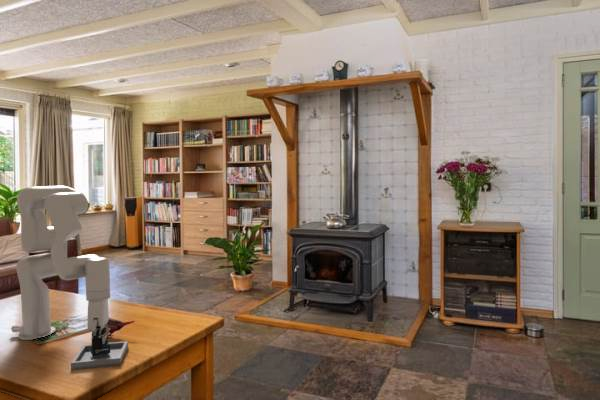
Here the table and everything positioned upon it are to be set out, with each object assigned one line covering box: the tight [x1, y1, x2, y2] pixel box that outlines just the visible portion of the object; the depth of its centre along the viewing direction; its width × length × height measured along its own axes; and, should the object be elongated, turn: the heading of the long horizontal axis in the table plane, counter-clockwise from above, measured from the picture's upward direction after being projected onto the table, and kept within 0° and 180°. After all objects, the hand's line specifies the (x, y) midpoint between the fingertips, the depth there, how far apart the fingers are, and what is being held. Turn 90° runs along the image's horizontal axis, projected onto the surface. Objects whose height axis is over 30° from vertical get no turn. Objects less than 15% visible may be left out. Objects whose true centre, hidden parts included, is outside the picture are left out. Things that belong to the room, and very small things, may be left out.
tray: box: [70, 341, 129, 371], centre depth 149 cm, size 15×15×2 cm
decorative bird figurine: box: [107, 317, 136, 338], centre depth 168 cm, size 3×18×10 cm, turn 88°
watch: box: [90, 324, 111, 357], centre depth 149 cm, size 6×8×11 cm
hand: (100, 343), depth 149 cm, fingers closed on watch, 8 cm apart
